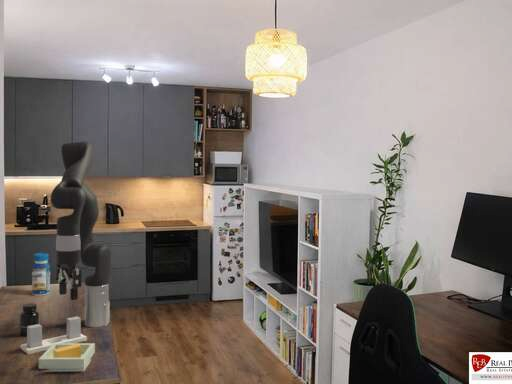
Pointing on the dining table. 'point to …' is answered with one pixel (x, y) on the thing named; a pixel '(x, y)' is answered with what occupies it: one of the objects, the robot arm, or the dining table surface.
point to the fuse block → (48, 342)
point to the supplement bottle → (28, 318)
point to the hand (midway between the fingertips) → (68, 296)
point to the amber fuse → (68, 352)
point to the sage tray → (66, 359)
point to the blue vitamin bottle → (41, 275)
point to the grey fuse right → (73, 327)
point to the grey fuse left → (34, 336)
